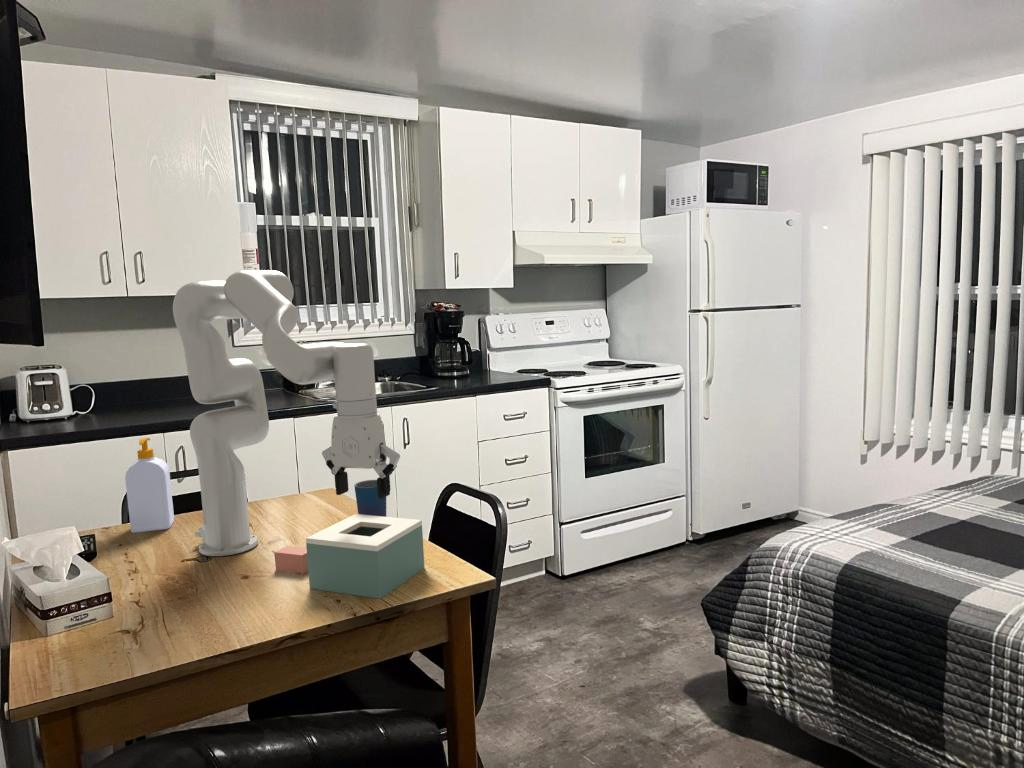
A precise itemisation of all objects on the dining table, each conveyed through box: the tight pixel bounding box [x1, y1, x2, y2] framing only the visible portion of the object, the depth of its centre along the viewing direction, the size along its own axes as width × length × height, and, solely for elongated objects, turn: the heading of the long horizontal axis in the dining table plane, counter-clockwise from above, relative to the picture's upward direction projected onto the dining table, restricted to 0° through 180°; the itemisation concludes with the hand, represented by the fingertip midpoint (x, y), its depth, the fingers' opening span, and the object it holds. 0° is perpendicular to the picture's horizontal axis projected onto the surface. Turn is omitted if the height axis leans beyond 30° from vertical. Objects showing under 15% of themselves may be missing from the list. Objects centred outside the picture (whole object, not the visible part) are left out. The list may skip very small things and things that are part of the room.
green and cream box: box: [305, 513, 426, 600], centre depth 144 cm, size 16×16×10 cm
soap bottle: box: [124, 437, 175, 534], centre depth 184 cm, size 9×7×23 cm
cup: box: [354, 479, 387, 517], centre depth 160 cm, size 7×7×15 cm
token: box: [273, 545, 309, 574], centre depth 152 cm, size 7×4×4 cm, turn 68°
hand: (363, 494), depth 143 cm, fingers open, 9 cm apart
